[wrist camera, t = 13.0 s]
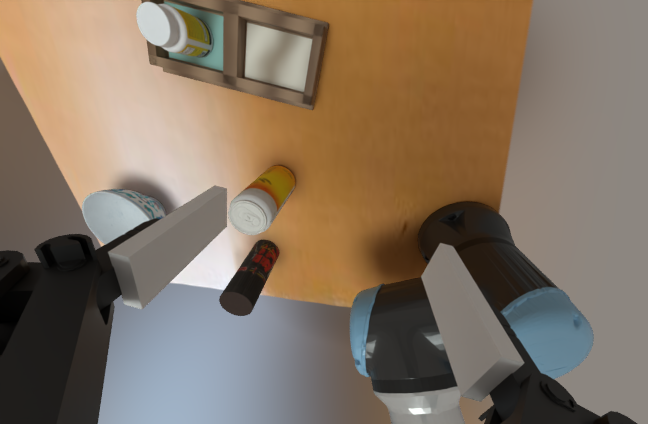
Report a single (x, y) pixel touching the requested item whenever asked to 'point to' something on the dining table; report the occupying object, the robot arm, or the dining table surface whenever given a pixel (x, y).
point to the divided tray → (252, 50)
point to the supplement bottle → (174, 30)
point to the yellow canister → (261, 201)
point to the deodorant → (250, 279)
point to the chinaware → (118, 212)
